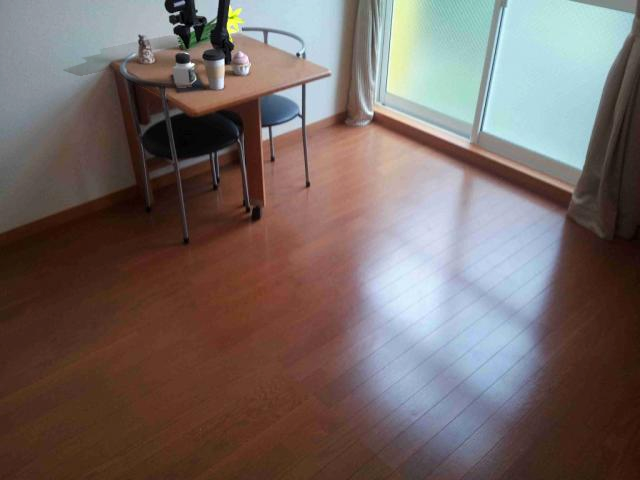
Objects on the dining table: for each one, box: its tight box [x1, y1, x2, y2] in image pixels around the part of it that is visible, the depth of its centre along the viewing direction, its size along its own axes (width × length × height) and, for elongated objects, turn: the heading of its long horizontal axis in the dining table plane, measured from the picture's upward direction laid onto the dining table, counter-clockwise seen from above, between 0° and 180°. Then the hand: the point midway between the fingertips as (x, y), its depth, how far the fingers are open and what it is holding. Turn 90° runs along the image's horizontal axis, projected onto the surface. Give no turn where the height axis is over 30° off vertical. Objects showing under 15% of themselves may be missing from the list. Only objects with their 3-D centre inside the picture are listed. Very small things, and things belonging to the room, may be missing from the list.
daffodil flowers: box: [176, 6, 246, 51], centre depth 283 cm, size 17×15×35 cm
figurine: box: [137, 33, 156, 65], centre depth 262 cm, size 7×7×12 cm
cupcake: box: [229, 50, 252, 77], centre depth 253 cm, size 9×9×10 cm
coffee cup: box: [201, 48, 226, 91], centre depth 238 cm, size 9×9×15 cm
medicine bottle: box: [172, 52, 197, 85], centre depth 242 cm, size 7×7×12 cm
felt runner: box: [170, 71, 206, 93], centre depth 246 cm, size 11×20×1 cm, turn 20°
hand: (192, 45), depth 247 cm, fingers open, 9 cm apart
